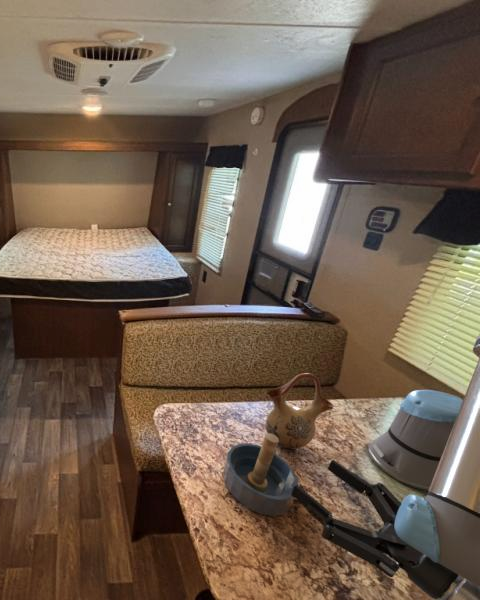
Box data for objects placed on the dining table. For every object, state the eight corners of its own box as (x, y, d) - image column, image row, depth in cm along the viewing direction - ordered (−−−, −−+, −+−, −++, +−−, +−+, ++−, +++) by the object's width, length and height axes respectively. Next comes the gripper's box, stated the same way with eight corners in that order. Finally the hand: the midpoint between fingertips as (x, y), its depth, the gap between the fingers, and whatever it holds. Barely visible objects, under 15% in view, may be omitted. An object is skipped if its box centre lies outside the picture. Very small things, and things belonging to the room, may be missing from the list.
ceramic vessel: (256, 448, 92) (280, 377, 82) (250, 426, 100) (270, 359, 90) (321, 462, 88) (353, 390, 78) (309, 438, 96) (337, 369, 86)
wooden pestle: (265, 481, 81) (282, 435, 75) (265, 496, 77) (283, 448, 71) (246, 474, 83) (261, 428, 77) (245, 487, 79) (261, 440, 73)
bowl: (288, 476, 83) (296, 459, 81) (292, 531, 71) (301, 512, 68) (225, 451, 90) (230, 435, 88) (218, 497, 78) (224, 479, 75)
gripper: (406, 644, 47) (271, 513, 64) (469, 559, 57) (338, 466, 75) (429, 617, 44) (281, 488, 61) (491, 533, 54) (349, 443, 72)
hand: (312, 476), depth 68 cm, fingers open, 13 cm apart
